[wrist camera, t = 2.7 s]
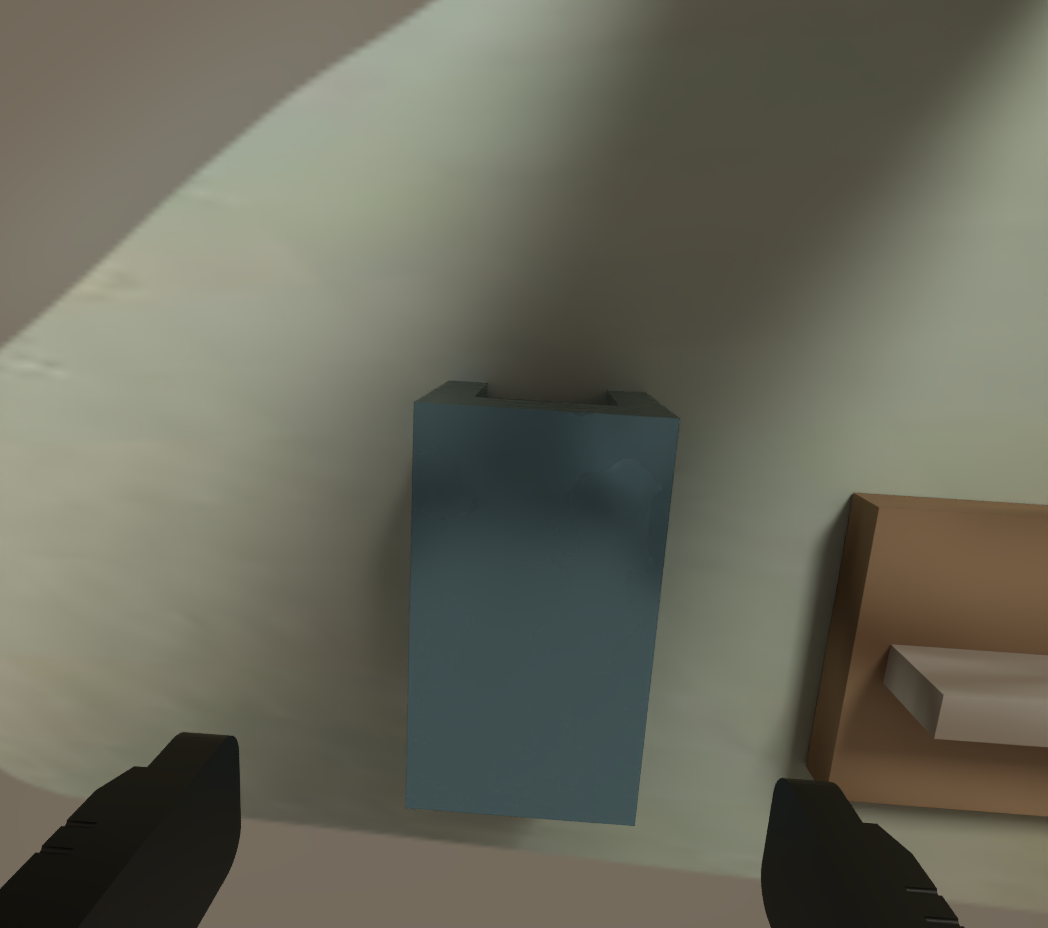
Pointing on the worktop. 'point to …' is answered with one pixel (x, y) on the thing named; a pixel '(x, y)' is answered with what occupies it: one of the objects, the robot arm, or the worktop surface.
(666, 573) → the worktop surface
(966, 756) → the rail stand
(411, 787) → the block
